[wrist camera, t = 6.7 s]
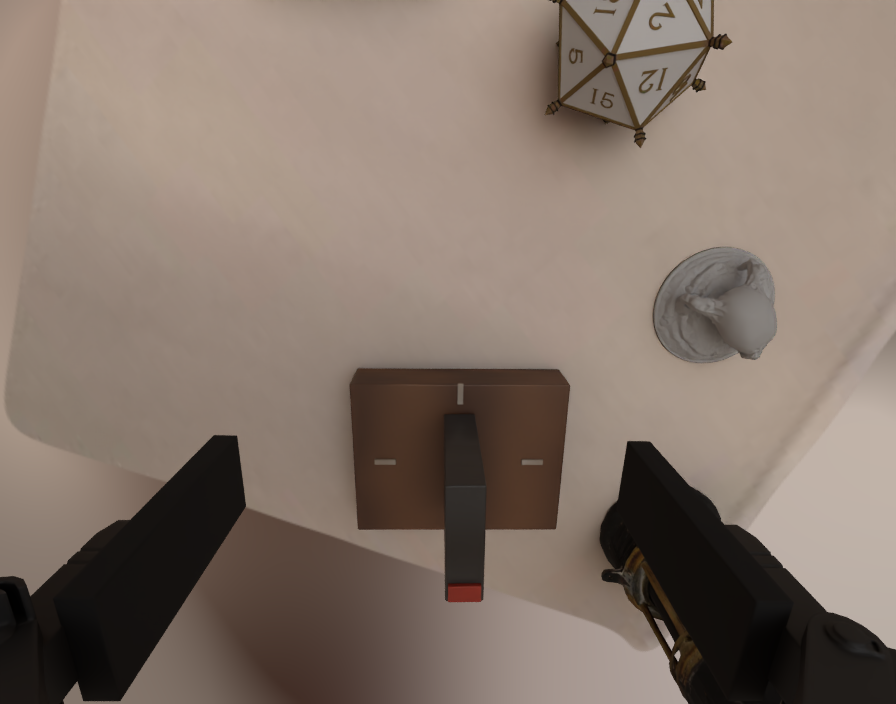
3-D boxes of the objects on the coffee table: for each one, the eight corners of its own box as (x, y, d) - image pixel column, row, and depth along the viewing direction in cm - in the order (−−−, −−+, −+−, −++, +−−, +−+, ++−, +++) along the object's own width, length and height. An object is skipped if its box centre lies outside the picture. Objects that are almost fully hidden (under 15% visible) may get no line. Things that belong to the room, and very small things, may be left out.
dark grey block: (443, 413, 29) (444, 489, 22) (474, 413, 29) (487, 488, 22) (444, 506, 32) (445, 605, 24) (473, 506, 32) (483, 605, 24)
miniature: (678, 381, 32) (717, 410, 28) (635, 286, 30) (670, 300, 26) (787, 326, 31) (847, 347, 27) (751, 223, 29) (809, 227, 24)
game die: (570, 53, 29) (610, -165, 20) (702, 94, 27) (816, -125, 18) (507, 154, 27) (519, -37, 18) (647, 207, 25) (744, 24, 16)
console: (364, 504, 35) (357, 532, 32) (357, 366, 32) (348, 383, 29) (546, 504, 35) (556, 532, 32) (559, 367, 32) (571, 384, 29)
